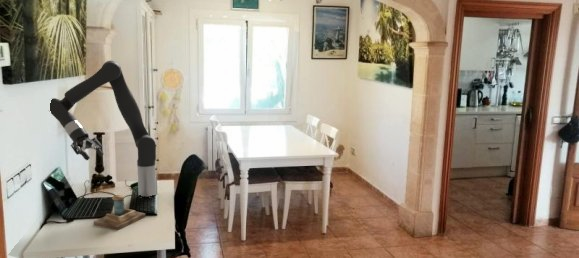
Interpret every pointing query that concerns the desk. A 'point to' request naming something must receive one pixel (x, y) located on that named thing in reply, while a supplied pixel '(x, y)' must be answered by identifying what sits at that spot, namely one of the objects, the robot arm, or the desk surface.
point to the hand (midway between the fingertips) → (95, 157)
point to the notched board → (119, 219)
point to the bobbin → (119, 205)
